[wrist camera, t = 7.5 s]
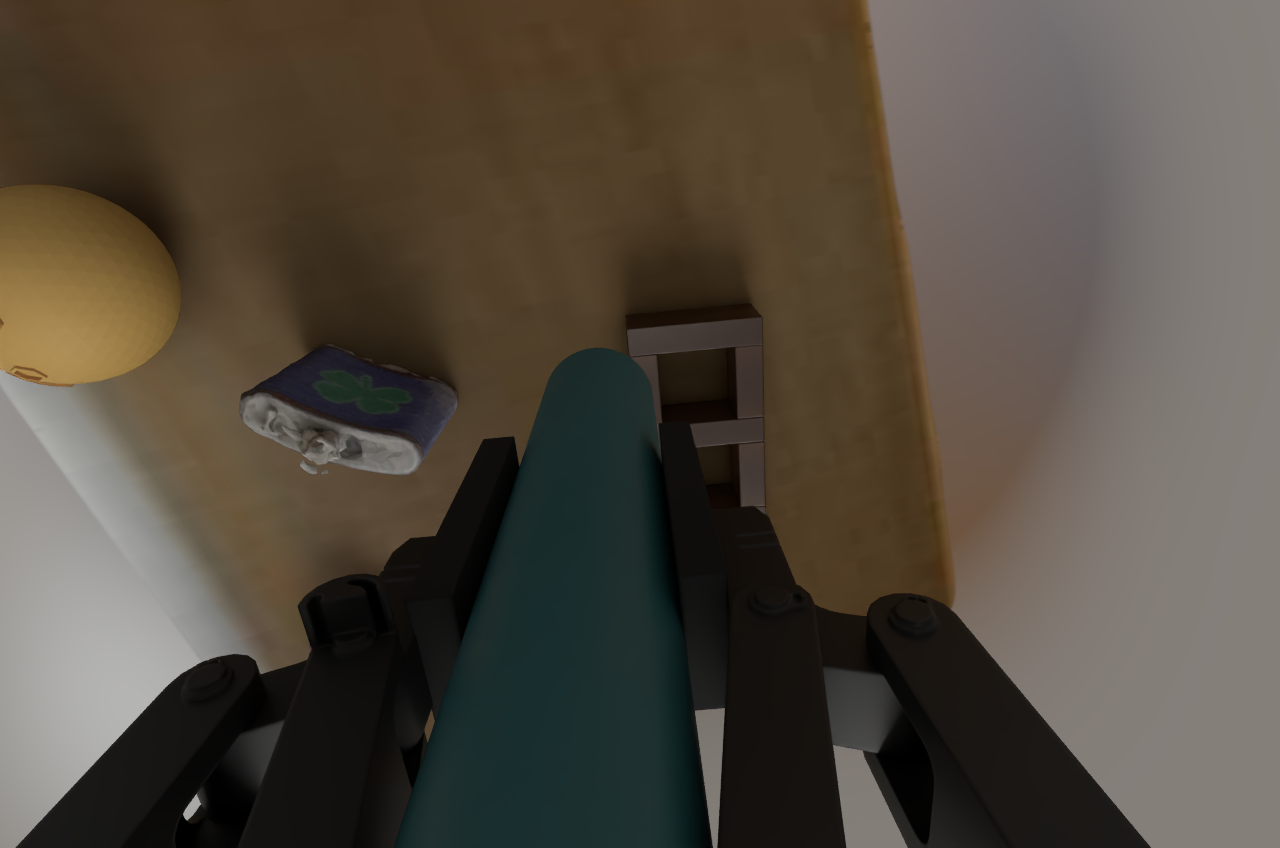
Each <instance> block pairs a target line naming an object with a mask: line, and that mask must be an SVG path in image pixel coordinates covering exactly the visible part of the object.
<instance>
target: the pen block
mask: <svg viewBox="0 0 1280 848" xmlns="http://www.w3.org/2000/svg"><path fill="white" fill-rule="evenodd" d="M626 332H627V342H628V353H629V357H630V358H631V359H633V360H634V361H635V362H636V363H637V364H638V365H639V366H640V367H641V368H642V369H643V371H644V372H645V374H646V375H647V377H648V379H649V382H650V384H651V388H652V393H653V400H654V408H655V415H656V423H657V430H658V438H659V445H660V436H659V424H658V423H667V422H678V421H689V422H690V426H691V430H692V434H693V438H694V442H695V446H696V447H705V446H716V445H727V444H730V452H731V477H732V483H728V484H717V485H706V489H707V493H708V497H709V501H710V505H711V509H723V508H734V507H745V506H755V507H756V508H758V509H759V510H760V511H761V512H763V513H764V514H765V515H766V506H765V505H766V492H765V442H764V440H765V437H764V379H763V345H762V344H763V317H762V316H761V315H760V314H759V313H758V311H757V310H756V309H755V308H754V307H753V306H752V304H741V305H730V306H719V307H708V308H698V309H687V310H676V311H665V312H654V313H644V314H633V315H626ZM717 348H726V349H727V375H728V398H729V400H718V401H707V402H696V403H685V404H674V405H663V406H661V397H660V384H659V372H658V359H657V354H663V353H674V352H685V351H696V350H707V349H717ZM660 453H661V448H660Z"/></svg>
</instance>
